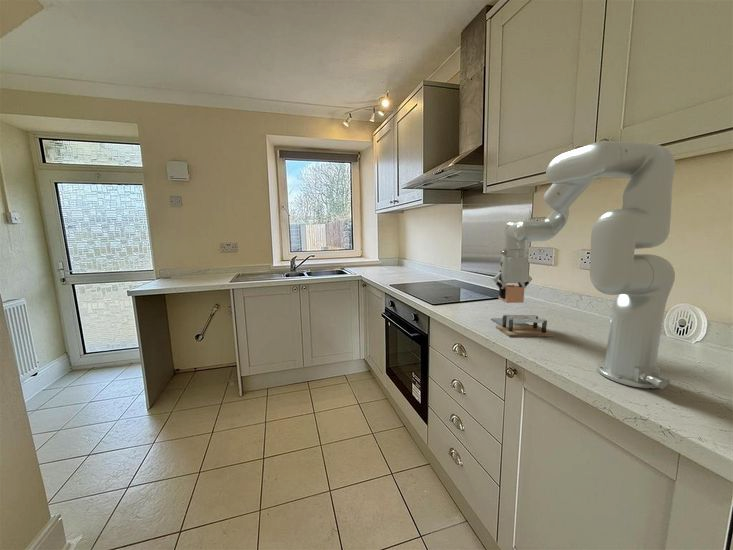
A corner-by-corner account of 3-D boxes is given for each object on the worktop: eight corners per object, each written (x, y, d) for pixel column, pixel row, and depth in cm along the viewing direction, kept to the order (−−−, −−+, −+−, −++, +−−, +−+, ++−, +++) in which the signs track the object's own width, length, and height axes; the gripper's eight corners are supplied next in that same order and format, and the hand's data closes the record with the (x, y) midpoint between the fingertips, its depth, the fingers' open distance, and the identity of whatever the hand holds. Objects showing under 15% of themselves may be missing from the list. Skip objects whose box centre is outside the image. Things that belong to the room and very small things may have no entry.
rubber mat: (529, 325, 115) (529, 324, 115) (501, 326, 114) (502, 325, 114) (516, 319, 124) (516, 317, 123) (491, 319, 123) (491, 318, 123)
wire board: (553, 335, 104) (553, 333, 104) (509, 336, 103) (509, 334, 103) (535, 326, 114) (535, 324, 114) (495, 327, 113) (495, 325, 113)
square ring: (523, 302, 114) (524, 287, 114) (507, 302, 114) (508, 287, 113) (514, 298, 121) (515, 284, 120) (498, 298, 121) (499, 284, 120)
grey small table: (546, 332, 104) (548, 320, 104) (513, 333, 104) (514, 321, 103) (532, 325, 113) (533, 313, 112) (501, 326, 112) (502, 314, 111)
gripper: (497, 254, 110) (494, 300, 113) (541, 254, 111) (537, 299, 114) (488, 253, 118) (485, 296, 121) (529, 252, 119) (526, 295, 121)
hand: (511, 297), depth 117 cm, fingers closed on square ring, 6 cm apart
